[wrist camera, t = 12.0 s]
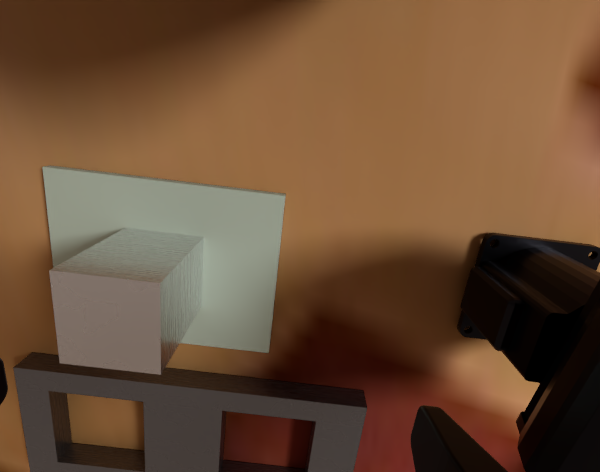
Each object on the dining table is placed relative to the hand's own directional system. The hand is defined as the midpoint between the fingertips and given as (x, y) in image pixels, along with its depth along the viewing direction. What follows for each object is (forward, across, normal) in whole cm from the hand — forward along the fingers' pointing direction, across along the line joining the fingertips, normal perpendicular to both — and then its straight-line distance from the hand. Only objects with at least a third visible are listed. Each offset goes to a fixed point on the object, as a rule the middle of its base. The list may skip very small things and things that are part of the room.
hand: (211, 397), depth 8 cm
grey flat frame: (+13, +4, +15) cm, 20 cm away
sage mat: (+13, +6, +3) cm, 15 cm away
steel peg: (+12, +6, +3) cm, 14 cm away
